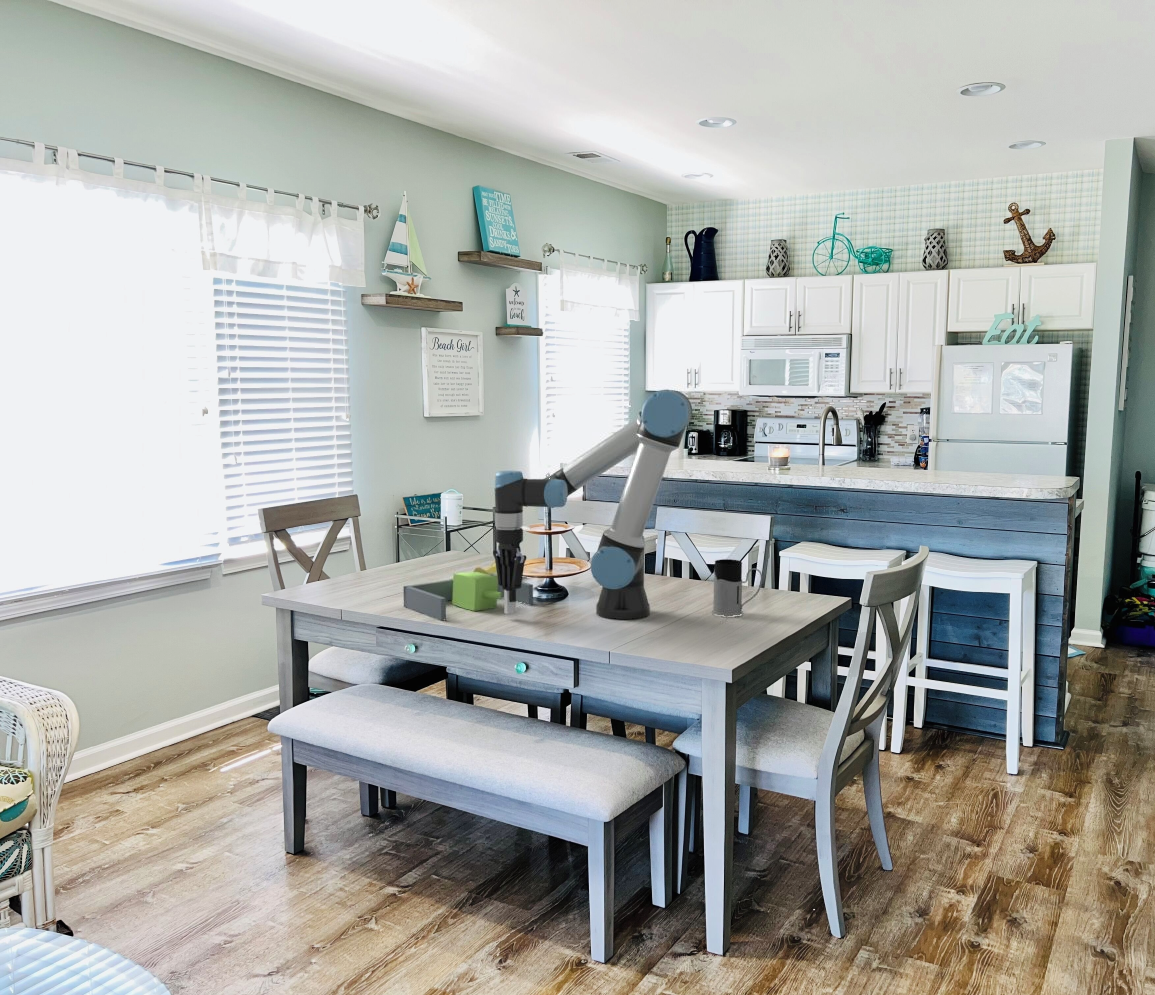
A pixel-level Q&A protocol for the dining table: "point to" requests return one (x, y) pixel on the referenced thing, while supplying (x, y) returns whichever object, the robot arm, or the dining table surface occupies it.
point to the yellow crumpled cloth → (487, 571)
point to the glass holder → (729, 587)
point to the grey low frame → (448, 596)
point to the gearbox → (475, 591)
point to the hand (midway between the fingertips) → (509, 612)
